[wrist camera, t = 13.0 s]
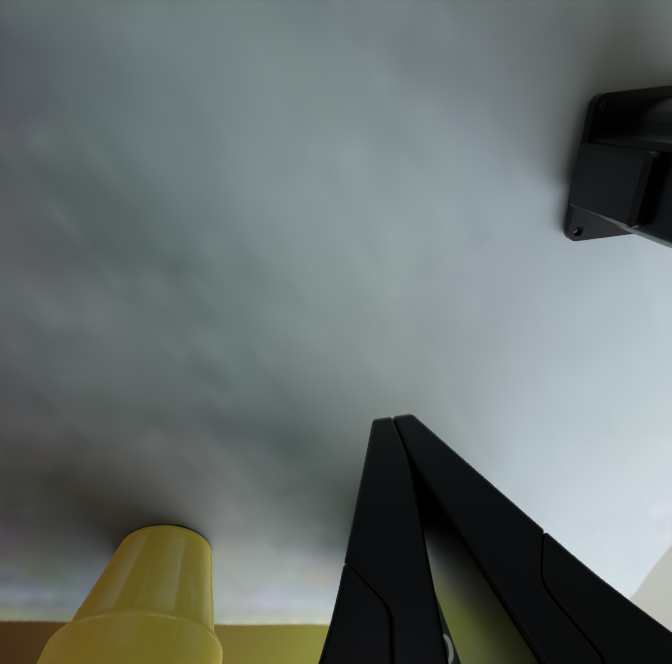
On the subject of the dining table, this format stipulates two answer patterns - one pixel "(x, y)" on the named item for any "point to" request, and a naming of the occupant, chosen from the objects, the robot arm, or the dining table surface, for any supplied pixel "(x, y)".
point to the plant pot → (146, 606)
